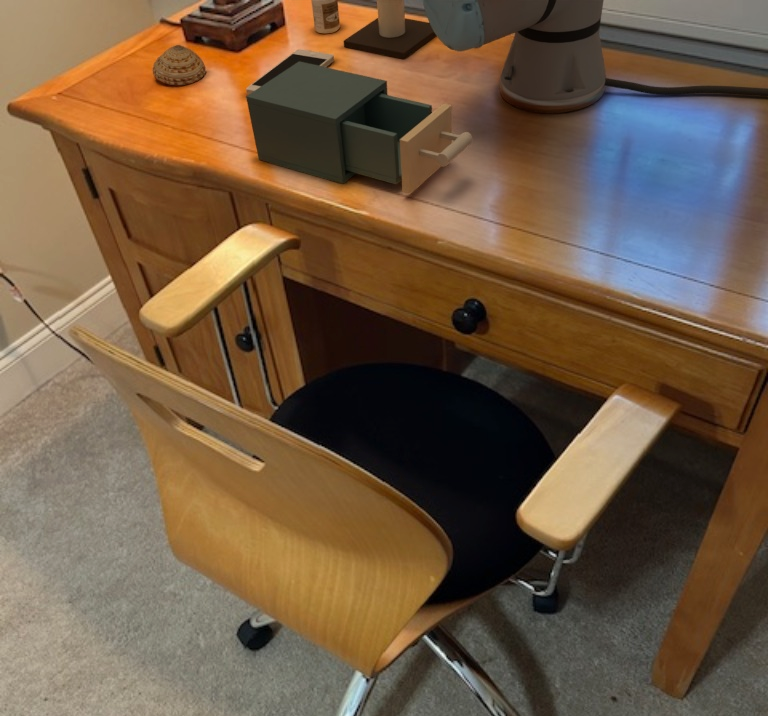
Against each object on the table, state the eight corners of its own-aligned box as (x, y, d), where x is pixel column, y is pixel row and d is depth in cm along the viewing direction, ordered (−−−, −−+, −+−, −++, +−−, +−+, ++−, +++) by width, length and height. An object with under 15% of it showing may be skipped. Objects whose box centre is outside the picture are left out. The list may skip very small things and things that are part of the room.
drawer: (480, 164, 104) (481, 111, 98) (439, 202, 99) (438, 149, 93) (368, 135, 111) (364, 84, 105) (325, 170, 106) (318, 118, 100)
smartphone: (335, 60, 129) (334, 53, 128) (284, 101, 121) (282, 95, 120) (298, 54, 131) (297, 48, 130) (245, 94, 123) (244, 88, 122)
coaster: (442, 31, 133) (442, 24, 132) (404, 59, 127) (403, 52, 126) (383, 20, 138) (383, 14, 137) (343, 47, 132) (343, 40, 131)
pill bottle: (330, 36, 135) (324, -16, 129) (310, 31, 137) (303, -20, 131) (345, 26, 137) (340, -25, 131) (324, 22, 139) (318, -29, 133)
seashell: (178, 44, 132) (200, 34, 126) (194, 80, 135) (216, 72, 129) (137, 61, 128) (158, 52, 123) (155, 98, 131) (175, 90, 126)
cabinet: (391, 145, 110) (386, 80, 104) (343, 184, 105) (335, 119, 98) (308, 123, 116) (299, 61, 109) (258, 159, 110) (245, 96, 104)
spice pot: (410, 29, 132) (407, -36, 125) (396, 39, 130) (392, -27, 123) (388, 25, 134) (384, -40, 126) (374, 35, 132) (369, -30, 124)
